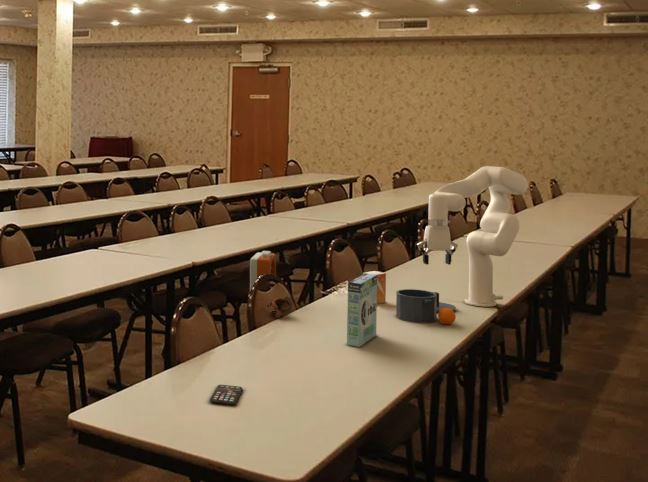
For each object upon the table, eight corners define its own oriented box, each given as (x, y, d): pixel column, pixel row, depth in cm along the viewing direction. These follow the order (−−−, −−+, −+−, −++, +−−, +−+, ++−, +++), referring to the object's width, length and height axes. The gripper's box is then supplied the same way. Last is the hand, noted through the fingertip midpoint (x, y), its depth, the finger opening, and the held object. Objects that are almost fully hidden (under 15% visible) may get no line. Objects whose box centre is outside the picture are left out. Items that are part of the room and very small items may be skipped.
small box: (374, 304, 357) (374, 274, 357) (362, 302, 362) (362, 272, 362) (386, 302, 361) (386, 272, 361) (374, 299, 366) (374, 270, 366)
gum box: (364, 333, 311) (364, 272, 310) (377, 335, 308) (378, 274, 307) (346, 345, 295) (346, 281, 295) (360, 347, 292) (360, 283, 292)
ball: (450, 322, 328) (450, 306, 328) (458, 326, 321) (458, 309, 321) (434, 322, 327) (435, 306, 327) (443, 326, 321) (443, 310, 321)
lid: (443, 303, 359) (443, 288, 359) (463, 312, 343) (463, 296, 343) (408, 304, 357) (408, 289, 357) (426, 313, 341) (427, 297, 341)
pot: (421, 311, 346) (421, 287, 345) (447, 323, 325) (447, 298, 325) (386, 312, 344) (387, 288, 344) (410, 324, 323) (410, 299, 323)
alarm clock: (269, 301, 363) (269, 254, 363) (249, 299, 366) (249, 253, 366) (275, 292, 380) (276, 248, 380) (256, 291, 383) (257, 247, 383)
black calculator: (242, 386, 248) (234, 403, 234) (242, 389, 248) (234, 405, 234) (218, 384, 250) (209, 400, 236) (218, 386, 250) (209, 402, 236)
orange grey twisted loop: (291, 314, 342) (295, 299, 337) (286, 329, 334) (290, 314, 330) (263, 304, 345) (266, 290, 341) (258, 319, 337) (261, 304, 333)
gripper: (452, 222, 350) (452, 262, 350) (413, 222, 348) (413, 262, 348) (462, 224, 342) (461, 265, 342) (422, 224, 340) (421, 265, 340)
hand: (436, 264), depth 345 cm, fingers open, 9 cm apart
